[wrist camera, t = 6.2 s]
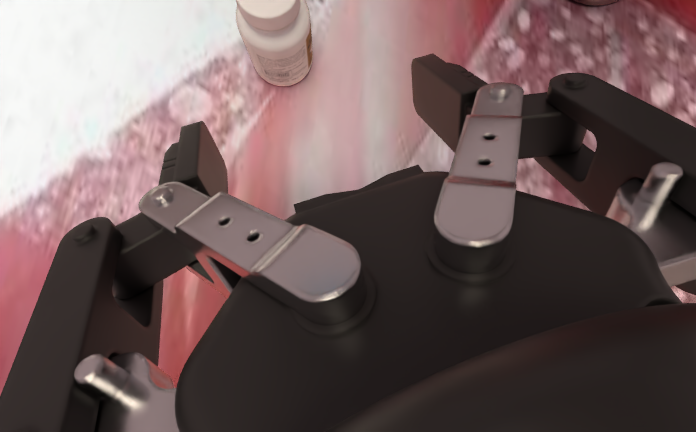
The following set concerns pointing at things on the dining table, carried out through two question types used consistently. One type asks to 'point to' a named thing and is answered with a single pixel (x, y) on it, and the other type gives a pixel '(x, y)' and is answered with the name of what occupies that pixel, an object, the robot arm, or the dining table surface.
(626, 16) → the dining table surface
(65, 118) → the dining table surface
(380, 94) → the dining table surface
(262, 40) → the pill bottle
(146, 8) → the dining table surface
